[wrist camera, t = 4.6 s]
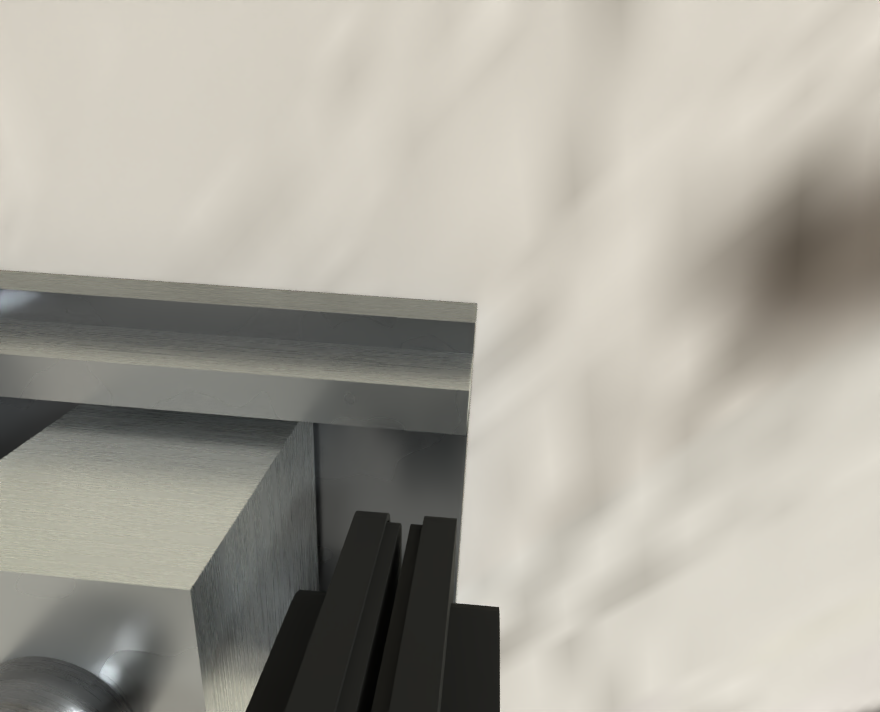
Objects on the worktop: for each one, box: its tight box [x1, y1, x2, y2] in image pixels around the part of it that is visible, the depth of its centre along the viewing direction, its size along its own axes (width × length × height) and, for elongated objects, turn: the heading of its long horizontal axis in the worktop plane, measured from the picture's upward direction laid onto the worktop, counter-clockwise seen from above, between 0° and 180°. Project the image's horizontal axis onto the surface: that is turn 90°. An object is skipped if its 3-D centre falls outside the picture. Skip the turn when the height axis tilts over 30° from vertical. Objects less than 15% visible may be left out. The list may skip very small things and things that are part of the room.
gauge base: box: [0, 270, 477, 603], centre depth 11 cm, size 11×8×6 cm
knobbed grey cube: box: [0, 403, 319, 712], centre depth 10 cm, size 4×6×6 cm, turn 177°
